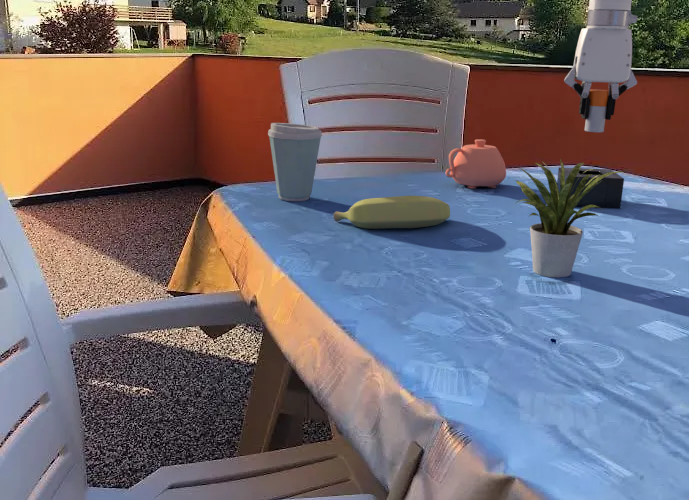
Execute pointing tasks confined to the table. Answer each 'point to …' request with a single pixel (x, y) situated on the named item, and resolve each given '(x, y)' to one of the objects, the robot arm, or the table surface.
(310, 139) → the disposable coffee cup
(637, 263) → the table surface
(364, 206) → the banana
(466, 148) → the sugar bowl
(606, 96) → the orange-capped white cylinder
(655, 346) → the table surface
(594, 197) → the holder
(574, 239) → the house plant
